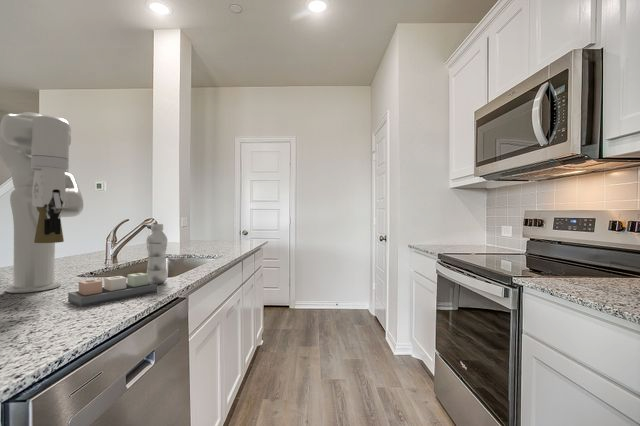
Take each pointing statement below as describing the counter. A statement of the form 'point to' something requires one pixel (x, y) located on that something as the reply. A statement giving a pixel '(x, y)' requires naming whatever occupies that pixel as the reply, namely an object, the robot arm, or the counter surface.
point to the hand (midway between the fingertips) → (49, 233)
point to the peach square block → (90, 287)
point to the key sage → (137, 279)
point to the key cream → (115, 283)
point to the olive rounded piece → (40, 235)
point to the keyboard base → (110, 295)
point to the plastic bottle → (156, 255)
